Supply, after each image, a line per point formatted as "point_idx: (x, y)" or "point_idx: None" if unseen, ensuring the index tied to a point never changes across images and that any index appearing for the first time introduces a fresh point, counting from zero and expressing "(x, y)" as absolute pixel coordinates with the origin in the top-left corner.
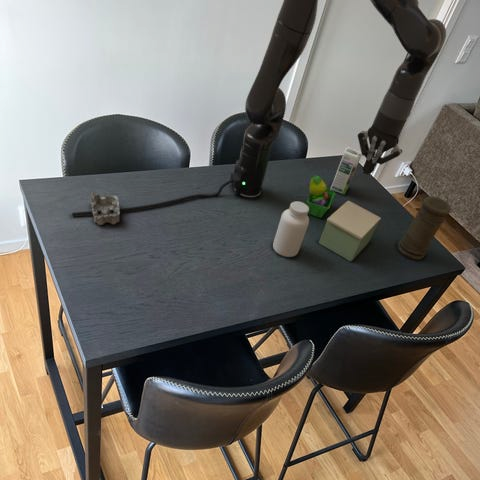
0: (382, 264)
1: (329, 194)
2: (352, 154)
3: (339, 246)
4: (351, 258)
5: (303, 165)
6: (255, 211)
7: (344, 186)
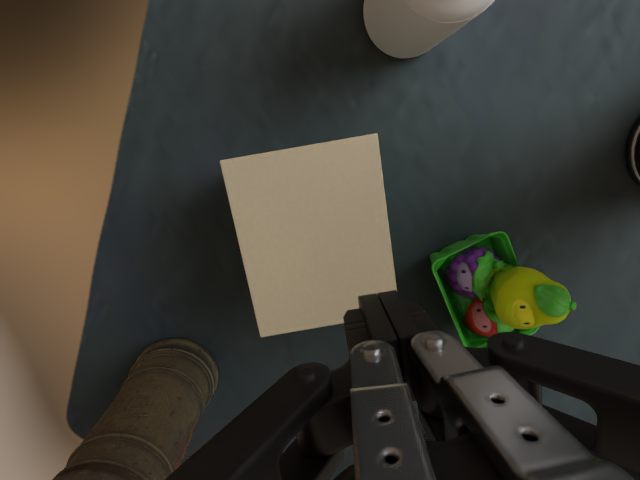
0: (182, 245)
1: (477, 342)
2: None
3: None
4: None
5: None
6: (586, 82)
7: None
